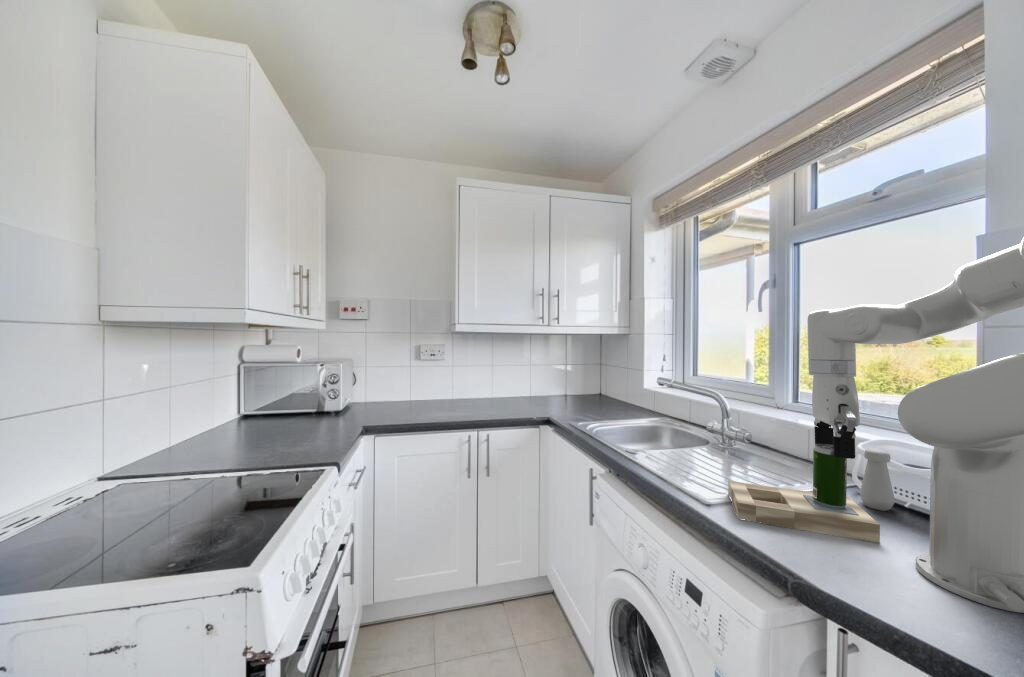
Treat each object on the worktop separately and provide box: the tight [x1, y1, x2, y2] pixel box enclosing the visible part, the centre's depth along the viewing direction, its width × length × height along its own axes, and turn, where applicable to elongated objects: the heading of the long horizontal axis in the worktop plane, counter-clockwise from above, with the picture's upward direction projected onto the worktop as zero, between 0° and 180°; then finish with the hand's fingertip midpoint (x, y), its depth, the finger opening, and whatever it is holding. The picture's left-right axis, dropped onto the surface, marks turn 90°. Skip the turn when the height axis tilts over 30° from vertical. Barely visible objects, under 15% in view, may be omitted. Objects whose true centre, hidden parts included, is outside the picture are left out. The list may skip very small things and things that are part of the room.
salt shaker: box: [859, 448, 896, 512], centre depth 84 cm, size 6×6×13 cm
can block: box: [727, 480, 881, 544], centre depth 80 cm, size 13×23×4 cm, turn 67°
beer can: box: [812, 443, 848, 509], centre depth 77 cm, size 5×5×12 cm
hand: (833, 451), depth 77 cm, fingers open, 9 cm apart
